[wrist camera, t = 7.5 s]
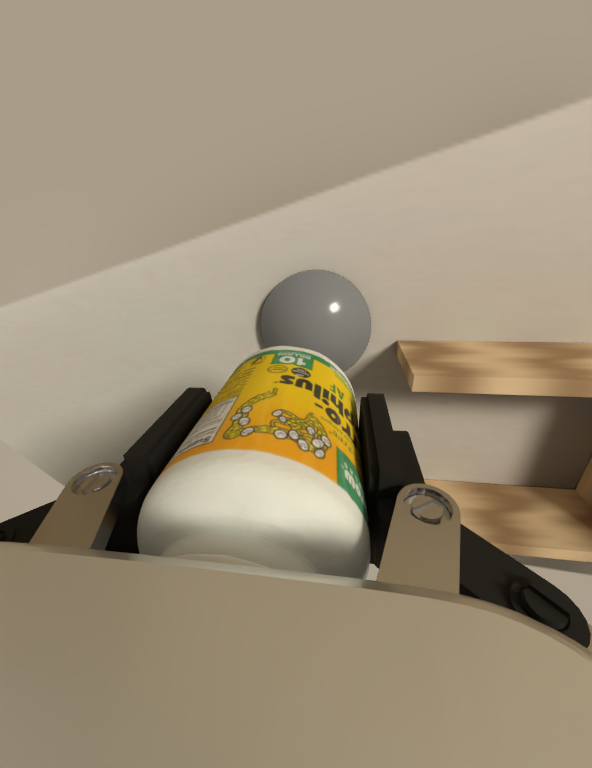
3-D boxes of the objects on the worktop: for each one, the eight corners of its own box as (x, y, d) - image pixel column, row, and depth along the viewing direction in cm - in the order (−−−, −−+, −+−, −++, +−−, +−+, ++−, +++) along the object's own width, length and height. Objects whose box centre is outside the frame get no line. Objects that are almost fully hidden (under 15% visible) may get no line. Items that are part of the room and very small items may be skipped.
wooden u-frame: (666, 343, 20) (781, 385, 15) (583, 499, 26) (644, 567, 21) (397, 340, 22) (414, 375, 17) (380, 484, 29) (388, 542, 23)
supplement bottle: (206, 395, 13) (-23, 679, 5) (292, 312, 11) (148, 562, 3) (292, 470, 15) (226, 797, 6) (383, 408, 13) (472, 777, 4)
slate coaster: (374, 268, 20) (375, 269, 20) (366, 377, 24) (366, 380, 24) (257, 270, 22) (255, 271, 21) (266, 374, 25) (264, 377, 25)
